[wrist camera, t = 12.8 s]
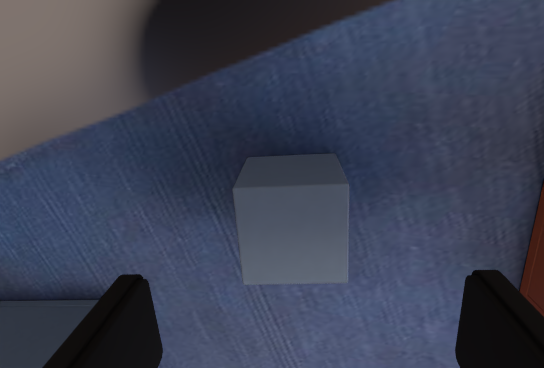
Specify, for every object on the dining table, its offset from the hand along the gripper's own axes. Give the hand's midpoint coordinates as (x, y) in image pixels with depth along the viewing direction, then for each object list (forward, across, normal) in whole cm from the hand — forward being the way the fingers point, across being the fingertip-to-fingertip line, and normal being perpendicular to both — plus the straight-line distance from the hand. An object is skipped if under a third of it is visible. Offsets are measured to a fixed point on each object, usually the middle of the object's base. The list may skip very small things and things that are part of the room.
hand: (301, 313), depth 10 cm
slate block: (+8, 0, 0) cm, 8 cm away
